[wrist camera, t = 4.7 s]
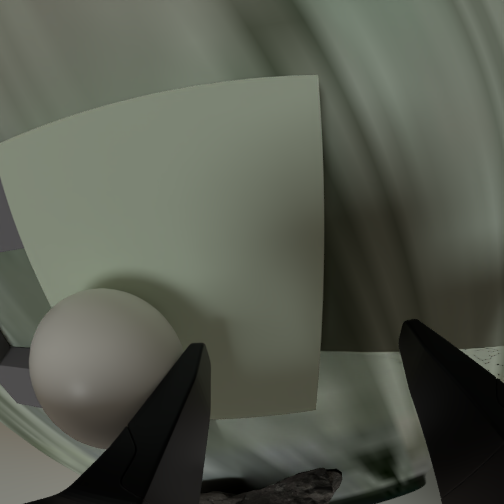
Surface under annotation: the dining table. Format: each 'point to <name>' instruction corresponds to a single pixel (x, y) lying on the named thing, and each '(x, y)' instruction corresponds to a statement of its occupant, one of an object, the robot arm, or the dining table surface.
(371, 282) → the dining table surface
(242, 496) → the stone
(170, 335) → the ball
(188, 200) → the panel
